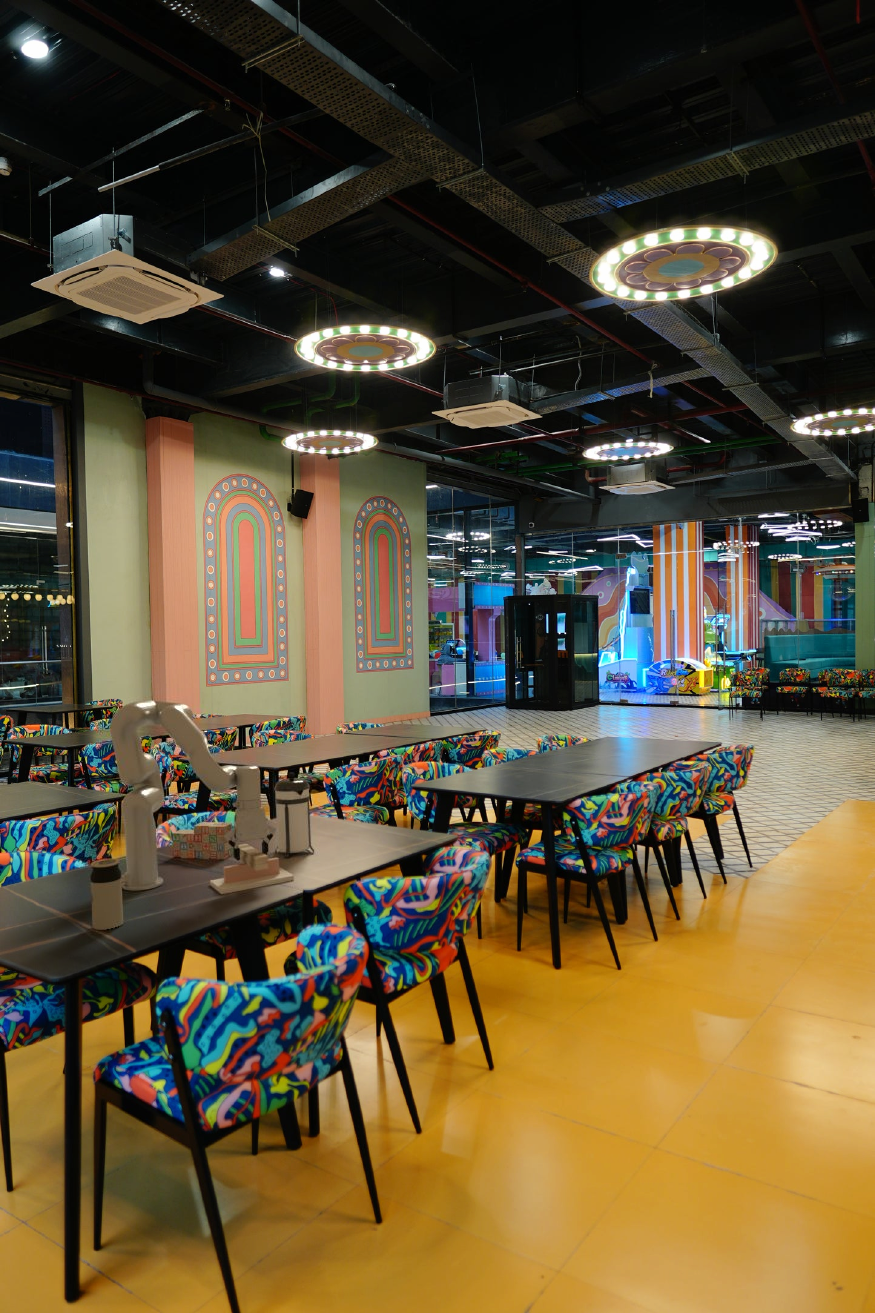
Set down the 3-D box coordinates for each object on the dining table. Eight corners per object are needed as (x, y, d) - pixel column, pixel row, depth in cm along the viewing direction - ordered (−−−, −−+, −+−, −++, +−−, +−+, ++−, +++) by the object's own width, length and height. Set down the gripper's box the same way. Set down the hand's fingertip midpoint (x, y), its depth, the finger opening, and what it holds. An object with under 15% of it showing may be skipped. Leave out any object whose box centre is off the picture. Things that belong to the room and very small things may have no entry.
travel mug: (127, 920, 237) (124, 857, 236) (117, 930, 229) (114, 865, 229) (99, 921, 237) (96, 858, 236) (88, 931, 229) (85, 866, 228)
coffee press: (322, 848, 312) (319, 768, 312) (304, 859, 297) (301, 775, 296) (280, 846, 317) (277, 768, 317) (260, 857, 302) (257, 775, 301)
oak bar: (235, 857, 277) (235, 845, 277) (247, 855, 280) (246, 843, 279) (255, 870, 260) (255, 857, 260) (268, 868, 263) (267, 855, 262)
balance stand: (221, 894, 259) (220, 873, 259) (210, 885, 269) (209, 865, 269) (294, 880, 271) (293, 860, 271) (280, 872, 282) (279, 853, 281)
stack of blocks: (172, 858, 306) (171, 825, 306) (181, 853, 312) (180, 821, 312) (225, 860, 301) (223, 826, 300) (233, 855, 307) (232, 822, 307)
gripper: (226, 809, 262) (228, 864, 262) (278, 802, 271) (280, 855, 271) (219, 806, 268) (221, 859, 269) (270, 799, 277) (272, 850, 278)
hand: (251, 857), depth 270 cm, fingers open, 8 cm apart
